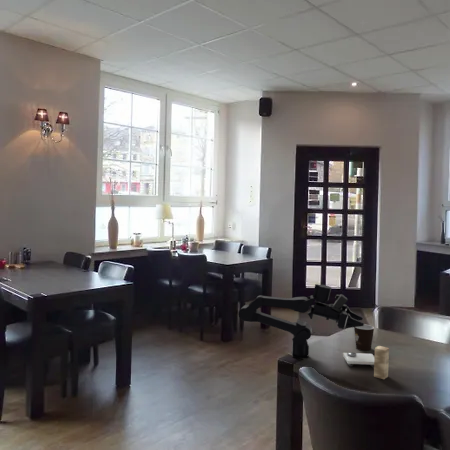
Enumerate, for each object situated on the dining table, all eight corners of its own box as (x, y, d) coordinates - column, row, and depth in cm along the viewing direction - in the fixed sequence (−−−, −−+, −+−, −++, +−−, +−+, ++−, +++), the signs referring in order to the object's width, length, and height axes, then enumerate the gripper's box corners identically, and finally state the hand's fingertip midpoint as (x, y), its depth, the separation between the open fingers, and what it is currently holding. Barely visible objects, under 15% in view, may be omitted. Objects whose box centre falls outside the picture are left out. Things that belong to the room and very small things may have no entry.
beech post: (373, 376, 173) (374, 348, 172) (377, 373, 176) (378, 345, 175) (384, 379, 170) (385, 350, 169) (388, 376, 173) (389, 348, 173)
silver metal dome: (348, 356, 187) (348, 354, 187) (346, 353, 190) (346, 351, 190) (357, 357, 186) (357, 355, 186) (355, 354, 190) (355, 352, 190)
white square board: (347, 367, 182) (347, 361, 181) (342, 358, 192) (343, 352, 191) (378, 368, 181) (378, 362, 181) (371, 359, 191) (372, 353, 191)
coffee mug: (374, 352, 200) (375, 330, 200) (354, 350, 202) (354, 328, 201) (371, 344, 211) (372, 323, 211) (352, 342, 213) (352, 321, 213)
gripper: (329, 297, 181) (369, 308, 178) (330, 288, 199) (366, 298, 196) (323, 323, 182) (362, 335, 179) (324, 312, 201) (360, 322, 197)
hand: (363, 321), depth 188 cm, fingers open, 9 cm apart
